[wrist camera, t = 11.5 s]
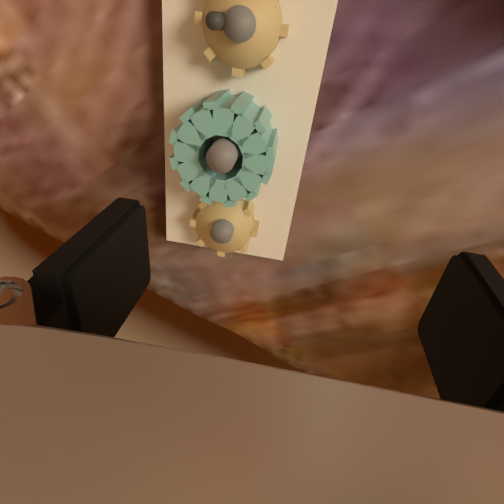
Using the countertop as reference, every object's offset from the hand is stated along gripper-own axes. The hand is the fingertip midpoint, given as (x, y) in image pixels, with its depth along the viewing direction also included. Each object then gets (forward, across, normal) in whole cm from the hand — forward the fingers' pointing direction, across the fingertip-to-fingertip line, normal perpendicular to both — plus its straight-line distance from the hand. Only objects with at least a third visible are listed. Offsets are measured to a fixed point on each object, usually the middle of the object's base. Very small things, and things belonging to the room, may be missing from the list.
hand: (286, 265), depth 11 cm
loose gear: (+20, +6, +2) cm, 21 cm away
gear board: (+22, +6, +2) cm, 23 cm away
